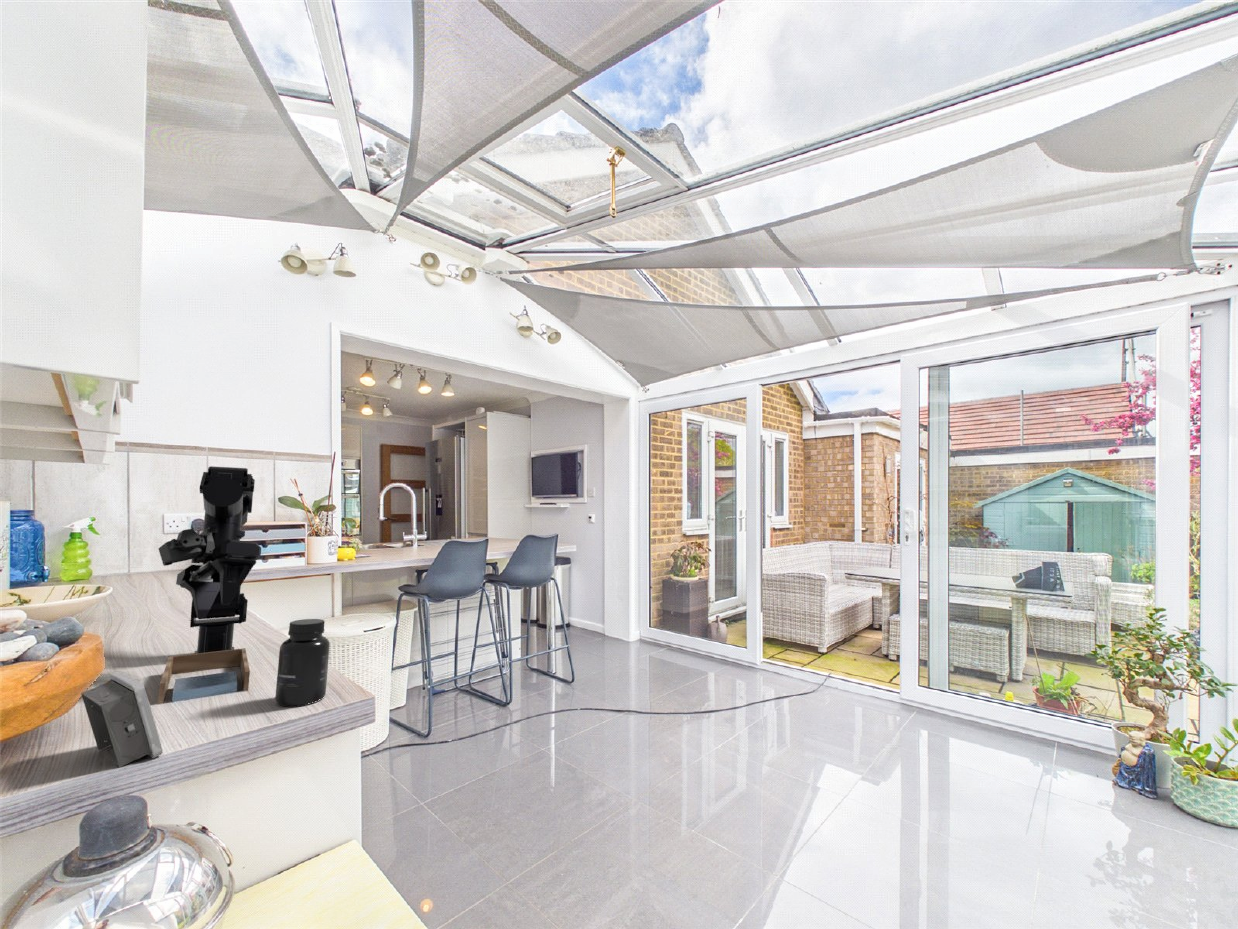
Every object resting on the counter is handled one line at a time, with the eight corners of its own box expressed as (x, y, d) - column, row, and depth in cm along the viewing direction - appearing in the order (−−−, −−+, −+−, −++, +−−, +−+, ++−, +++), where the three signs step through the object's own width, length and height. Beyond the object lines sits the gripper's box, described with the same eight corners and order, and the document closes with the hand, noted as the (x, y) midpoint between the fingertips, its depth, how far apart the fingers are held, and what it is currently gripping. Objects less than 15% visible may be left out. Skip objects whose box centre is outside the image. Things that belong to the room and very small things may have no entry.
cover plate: (174, 691, 87) (175, 679, 87) (234, 682, 92) (235, 670, 92) (171, 705, 81) (173, 692, 81) (236, 695, 85) (237, 682, 86)
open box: (167, 674, 94) (169, 656, 95) (244, 664, 101) (245, 648, 101) (157, 704, 80) (159, 683, 80) (248, 690, 86) (249, 671, 87)
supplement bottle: (270, 710, 78) (276, 627, 79) (280, 695, 84) (285, 618, 85) (323, 704, 80) (328, 624, 82) (328, 691, 87) (333, 616, 88)
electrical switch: (164, 757, 62) (162, 678, 63) (104, 780, 58) (103, 695, 58) (136, 739, 68) (135, 666, 68) (80, 758, 63) (78, 680, 63)
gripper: (147, 539, 97) (133, 625, 90) (192, 502, 88) (180, 594, 82) (218, 546, 106) (209, 625, 99) (265, 513, 97) (259, 597, 91)
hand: (213, 611), depth 93 cm, fingers open, 9 cm apart
